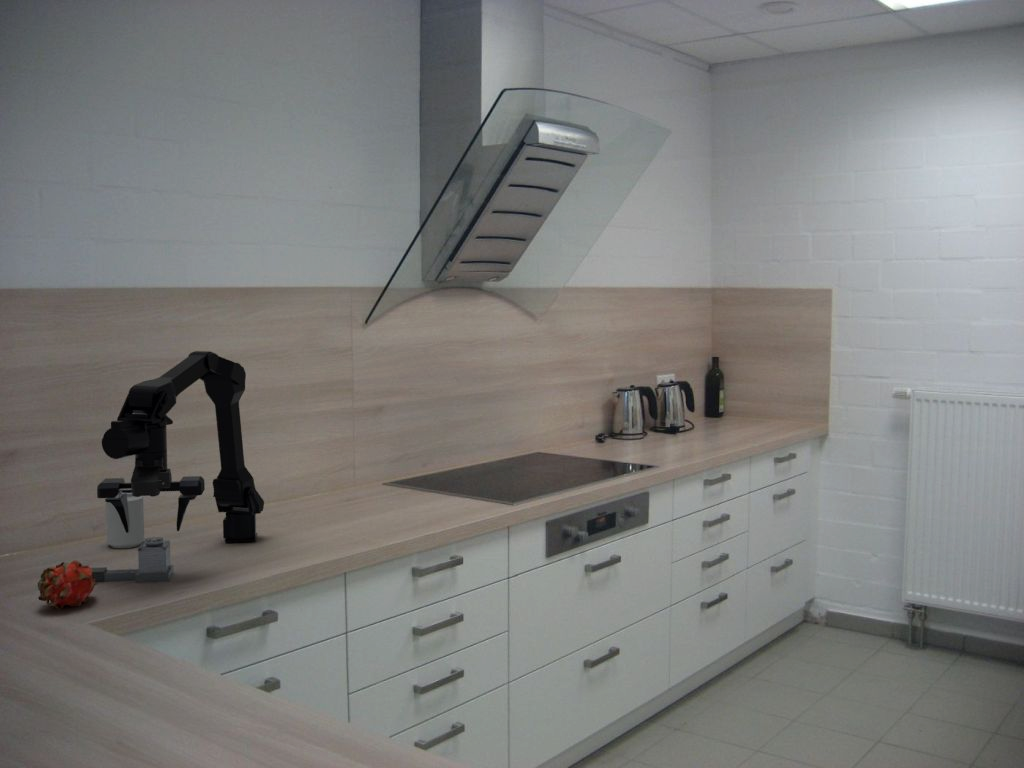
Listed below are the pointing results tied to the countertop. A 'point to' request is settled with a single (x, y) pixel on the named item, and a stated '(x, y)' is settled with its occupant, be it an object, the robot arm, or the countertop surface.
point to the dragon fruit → (66, 584)
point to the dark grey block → (154, 556)
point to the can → (116, 529)
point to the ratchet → (130, 575)
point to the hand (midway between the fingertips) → (153, 531)
